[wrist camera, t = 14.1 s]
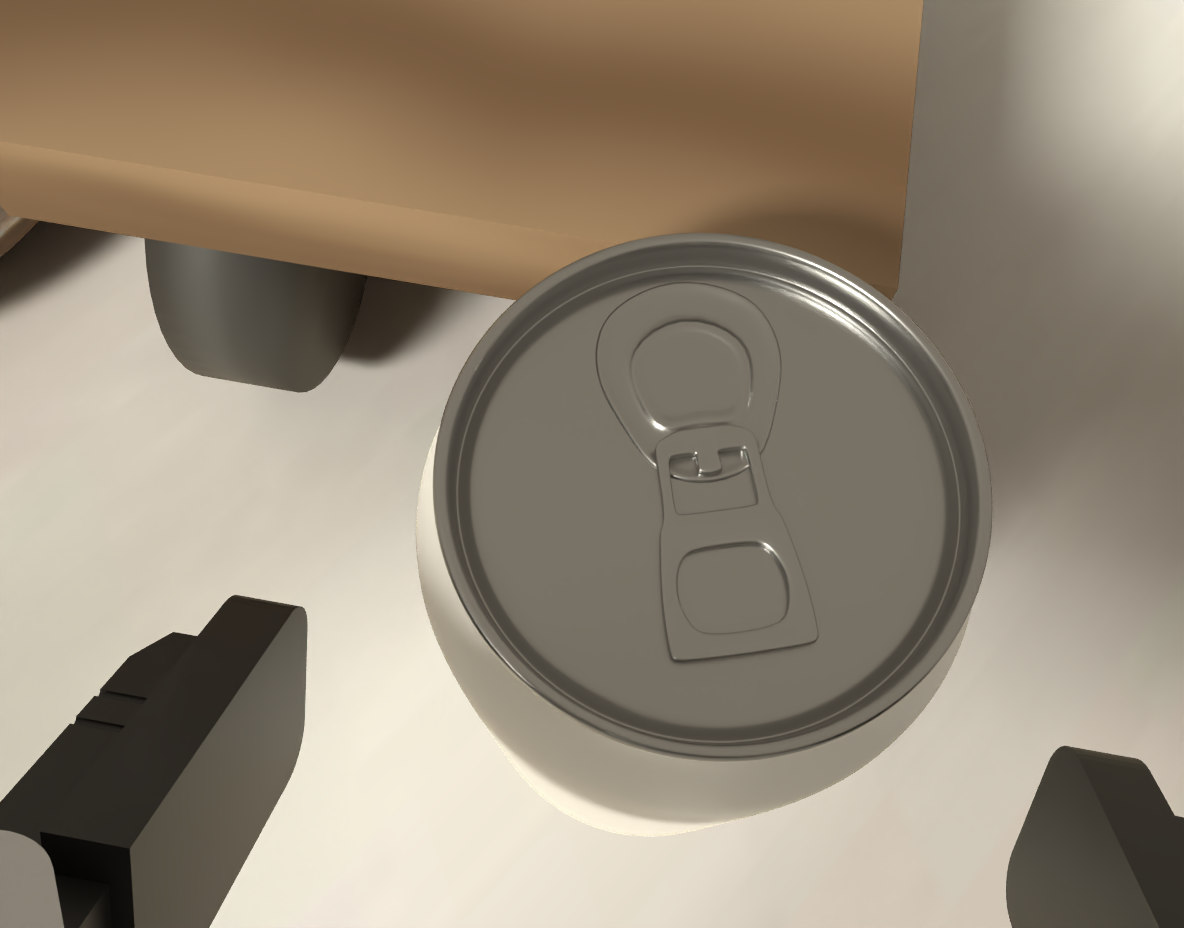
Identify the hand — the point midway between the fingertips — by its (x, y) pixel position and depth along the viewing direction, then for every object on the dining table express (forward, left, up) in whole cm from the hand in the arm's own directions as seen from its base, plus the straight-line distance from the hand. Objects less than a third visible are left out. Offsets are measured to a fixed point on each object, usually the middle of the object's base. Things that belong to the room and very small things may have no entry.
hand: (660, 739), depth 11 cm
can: (-1, +2, -10) cm, 11 cm away
